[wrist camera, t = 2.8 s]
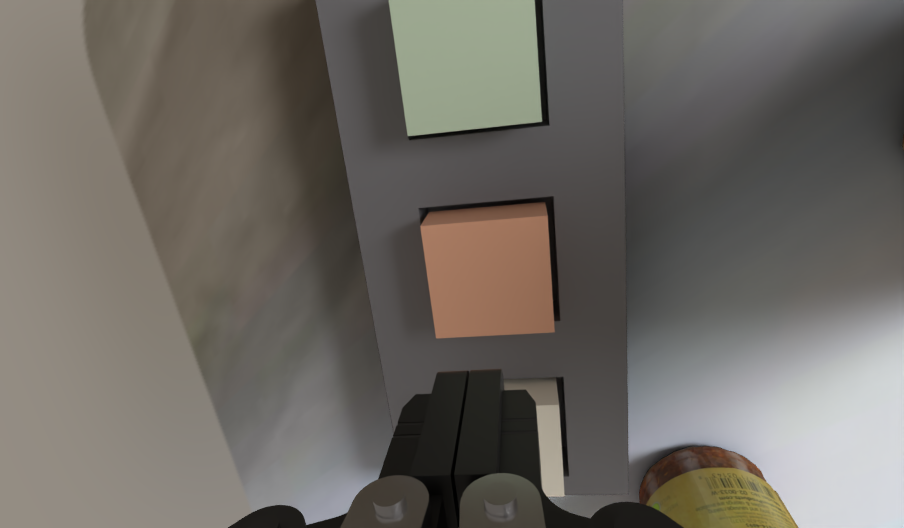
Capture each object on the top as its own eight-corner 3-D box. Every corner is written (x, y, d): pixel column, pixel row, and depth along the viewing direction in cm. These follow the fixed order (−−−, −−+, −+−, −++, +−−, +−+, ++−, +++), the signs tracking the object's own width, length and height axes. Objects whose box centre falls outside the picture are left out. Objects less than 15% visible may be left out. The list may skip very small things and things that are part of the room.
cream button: (451, 381, 23) (445, 408, 21) (555, 376, 23) (559, 404, 21) (462, 465, 25) (458, 497, 23) (561, 463, 24) (564, 496, 22)
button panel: (337, -22, 21) (309, -36, 18) (606, -64, 19) (621, -86, 16) (416, 453, 28) (405, 496, 25) (617, 449, 26) (628, 494, 24)
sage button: (400, -3, 18) (387, -11, 17) (531, -22, 18) (532, -32, 16) (418, 129, 20) (407, 136, 18) (539, 116, 19) (542, 121, 17)
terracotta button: (429, 211, 21) (420, 226, 19) (545, 201, 20) (547, 215, 18) (442, 315, 22) (436, 338, 20) (551, 309, 22) (554, 332, 20)
